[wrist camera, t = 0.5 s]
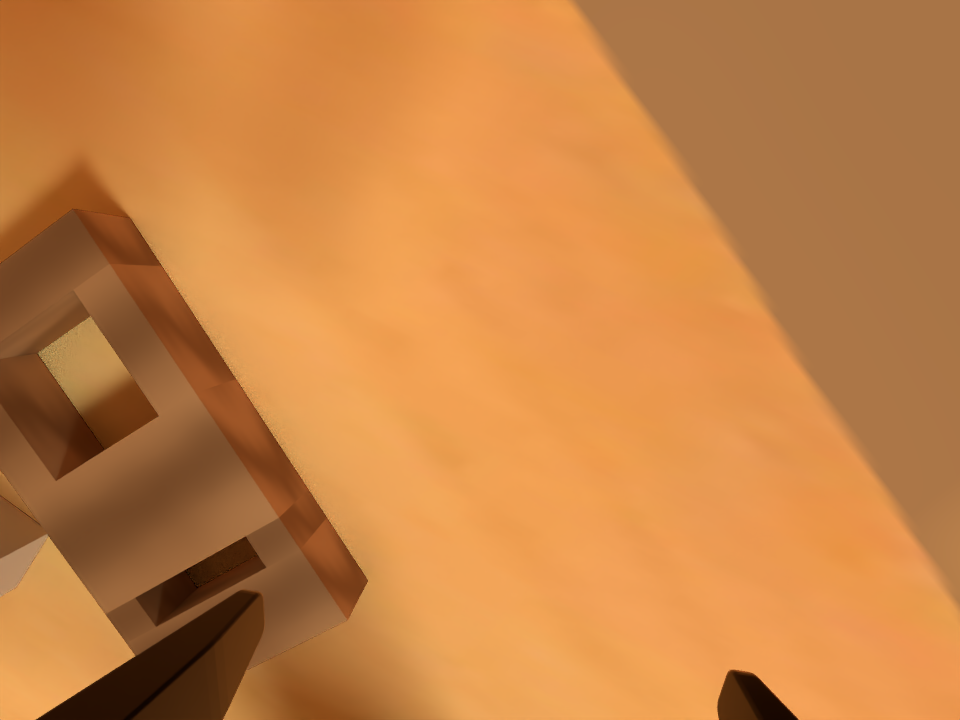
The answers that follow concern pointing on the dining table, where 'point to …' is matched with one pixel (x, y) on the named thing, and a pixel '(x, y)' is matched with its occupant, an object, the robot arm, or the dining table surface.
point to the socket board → (155, 451)
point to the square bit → (17, 544)
